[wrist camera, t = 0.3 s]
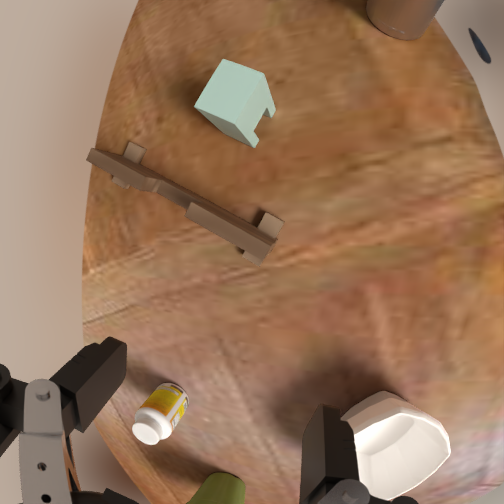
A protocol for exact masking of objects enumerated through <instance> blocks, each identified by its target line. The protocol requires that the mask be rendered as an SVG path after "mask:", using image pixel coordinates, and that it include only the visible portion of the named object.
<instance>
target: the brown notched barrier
mask: <svg viewBox="0 0 504 504" xmlns="http://www.w3.org/2000/svg"><path fill="white" fill-rule="evenodd" d="M146 150H147V149H145V148H143V147H140V146H138V145H136V144H134V143H132V142H129V144H128V146H127V148H126V151H125V153H124V155H123V156H121V155H117V154H113V153H110V152H106V151H102V150H98V149H94V148H91V150H90V152H89V155H88V157H87V159H86V160H87V161H89V162H90V163H92V164H94V165H96V166H97V167H99V168H101V169H103V170H104V171H106V172H108V173H110V174H111V175H113V176H114V177H113V179H112V182H114V183H115V184H117V185H119V186H120V187H122V188H125V189H128V188H129V186H130V185H131V186H132V187H134V188H136V189H138V190H139V191H148V192H156V193H158V194H160V195H162V196H164V197H165V198H167V199H169V200H171V201H173V202H174V203H176V204H178V205H180V206H181V207H183V208H185V209H187V212H186V214H185V217H187V218H188V219H190V220H192V221H194V222H195V223H197V224H199V225H201V226H202V227H204V228H206V229H208V230H209V231H211V232H213V233H215V234H217V235H218V236H220V237H222V238H224V239H225V240H227V241H229V242H231V243H232V244H234V245H236V246H238V247H239V248H241V249H243V250H245V252H244V254H243V255H242V257H243V258H245V259H247V260H249V261H250V262H252V263H254V264H256V265H257V266H259V267H260V265H261V264H262V262H263V260H264V259H265V258H266V256H267V255H268V254H269V253H270V252H271V251H272V249H273V247H274V245H275V244H276V242H277V240H278V239H277V238H276V237H277V235H278V233H279V231H280V229H281V228H282V226H283V224H284V221H282V220H280V219H279V218H277V217H275V216H273V215H271V214H270V213H268V212H266V213H265V215H264V217H263V218H262V220H261V222H260V224H259V226H258V228H257V227H256V226H254V225H252V224H250V223H248V222H246V221H245V220H243V219H241V218H239V217H237V216H236V215H234V214H232V213H230V212H228V211H227V210H225V209H223V208H221V207H219V206H217V205H216V204H214V203H212V202H210V201H208V200H206V199H204V198H203V197H201V196H199V195H197V194H195V193H193V192H192V191H190V190H188V189H186V188H184V187H182V186H180V185H178V184H177V183H175V182H173V181H171V180H169V179H167V178H165V177H163V176H162V175H160V174H158V173H156V172H154V171H152V170H150V169H148V168H146V167H144V166H143V165H141V164H140V162H141V160H142V158H143V156H144V154H145V152H146Z"/></svg>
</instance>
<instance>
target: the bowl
mask: <svg viewBox="0 0 504 504" xmlns="http://www.w3.org/2000/svg"><path fill="white" fill-rule="evenodd" d="M341 420H343V421H348V423H349V425H350V426H351V428H352V429H353V432H354V439H355V442H354V443H355V446H356V450H355V451H356V454H357V462H358V470H359V479H360V482H361V483H363V484H364V485H365V486H366V487H367V489H368V490H369V493H370V495H372V496H374V497H377V498H380V499H384V500H390V499H392V498H395V497H397V496H399V495H401V494H403V493H405V492H407V491H409V490H410V489H412V488H414V487H416V486H417V485H419V484H420V483H421V482H423V481H424V480H425V479H426V478H428V477H429V476H430V475H431V474H433V473H434V472H435V471H436V470H437V469H438V468H439V467H440V466H441V465H442V464H443V462H444V461H445V460H446V459H447V458H448V457H449V455H450V452H451V450H450V443H449V437H448V434H447V432H446V431H445V429H444V428H443V426H442V424H441V423H440V421H438V420H436V419H435V418H433V417H431V416H430V415H428V414H427V413H425V412H423V411H422V410H420V409H418V408H417V407H415V406H413V405H412V404H410V403H409V402H407V401H405V400H404V399H402V398H400V397H399V396H397V395H395V394H392V393H389V392H387V391H380V392H378V393H376V394H374V395H372V396H369V397H367V398H366V399H364V400H363V401H361V402H359V403H358V404H356V405H355V406H353V407H351V408H350V409H349V410H348V411H347V412H346V413H345V414H344V415H343V416H342V417H341Z"/></svg>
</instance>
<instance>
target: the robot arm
mask: <svg viewBox="0 0 504 504" xmlns="http://www.w3.org/2000/svg"><path fill="white" fill-rule="evenodd" d="M443 2H444V0H368V1H367V5H366V13H367V15H368V17H369V19H370V20H371V22H372V23H373V24H374V25H375V26H376V27H377V28H378V29H379V30H381V31H382V32H384V33H386V34H387V35H389V36H392V37H394V38H398V39H402V40H414V39H417V38H419V37H421V36H422V35H423V34H424V32H425V31H426V29H427V27H428V26H429V24H430V23H431V21H432V20H433V18H434V16H435V14H436V13H437V11H438V10H439V8H440V7H441V5H442V3H443ZM126 358H127V345H126V343H124V342H122V341H120V340H117V339H115V338H113V337H107V338H106V339H105V340H104V341H103V342H102V343H101V344H100V345H99V344H97V343H93V344H90V345H88V346H85V347H84V348H83V349H82V350H80V351H79V352H78V353H77V355H75V356H74V357H73V358H72V359H71V360H70V361H68V362H67V363H66V364H65V365H64V366H63V367H62V368H61V369H60V370H59V371H58V372H57V373H56V374H54V375H53V376H52V377H51V378H50V379H49V380H46V379H37V380H34V381H32V382H30V383H25V382H22V381H19V380H16V379H13V378H11V376H10V372H9V370H8V368H6V366H4V365H2V364H0V457H1V456H2V454H3V453H4V452H5V451H6V449H7V448H8V447H9V446H10V444H11V443H12V442H13V441H14V439H15V438H16V437H17V436H18V434H19V433H20V432H21V433H20V434H19V463H20V479H21V490H22V498H23V503H20V504H139V503H137V502H135V501H134V500H132V499H129V498H127V497H125V496H123V495H121V494H118V493H116V492H114V491H112V490H110V489H108V488H106V490H105V491H104V493H99V492H93V491H81V488H80V484H79V481H78V477H77V473H76V468H75V462H74V456H73V450H72V443H71V436H70V433H71V432H72V431H73V429H74V428H75V429H77V430H78V431H80V432H82V433H84V431H85V430H86V429H87V427H88V426H89V425H90V424H91V422H92V421H93V420H94V418H95V417H96V416H97V414H98V413H99V412H100V411H101V409H102V408H103V407H104V405H105V404H106V403H107V402H108V400H109V399H110V398H111V396H112V395H113V394H114V393H115V391H116V390H117V389H118V388H119V386H120V385H121V384H122V382H123V380H124V378H125V375H126ZM22 432H23V433H22ZM354 442H355V439H354V432H353V429H352V428H351V426H350V425H349V423H348V421H343V420H341V418H340V410H339V408H338V407H334V406H329V405H324V404H320V405H319V406H318V408H317V410H316V411H315V413H314V415H313V417H312V418H311V420H310V422H309V424H308V425H307V427H306V429H305V432H304V435H303V441H302V464H301V484H300V500H299V504H418V502H417V501H416V500H414V499H413V498H411V497H408V496H400V497H397V498H395V499H394V500H393V501H387V500H384V499H380V498H377V497H374V496H372V495H370V493H369V490H368V489H367V487H366V486H365V485H364V484H363V483H361V482H360V479H359V470H358V462H357V454H356V451H355V450H356V446H355V443H354Z"/></svg>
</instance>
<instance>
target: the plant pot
mask: <svg viewBox="0 0 504 504" xmlns="http://www.w3.org/2000/svg"><path fill="white" fill-rule="evenodd" d="M244 499H245V484H244V483H243V481H242V480H241V479H239V478H236V477H234V476H233V475H231V474H228V473H221V472H219V473H213V474H211V475H210V476H208V478H207V479H206V480H205V481H204V483H203V484H202V486H201V487H200V488H199V489H198V491H197V492H196V493H195V495H194V496H193V497H192V499H191V500H190V501H189V502H187V503H186V504H244Z"/></svg>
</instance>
